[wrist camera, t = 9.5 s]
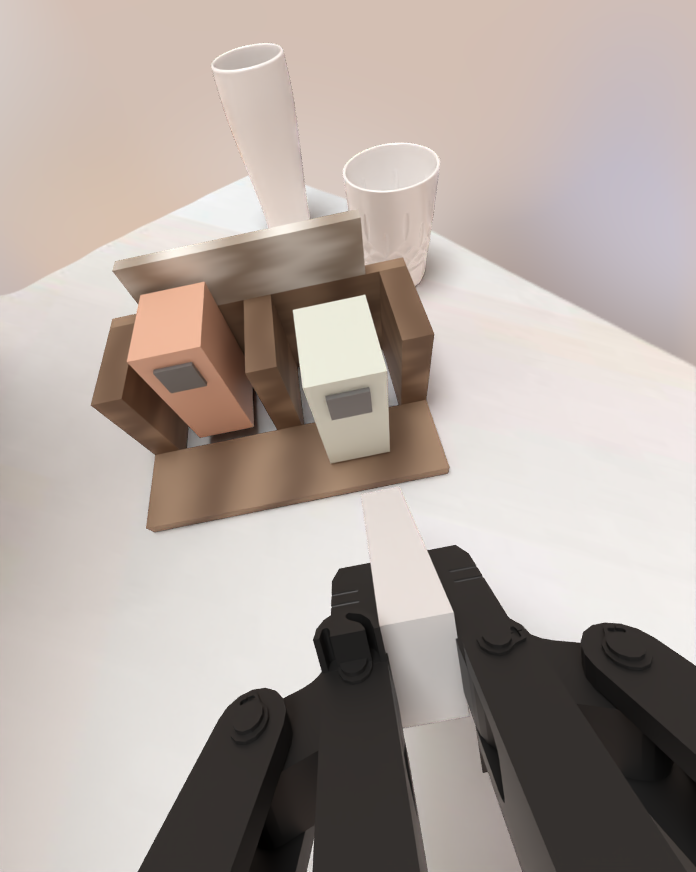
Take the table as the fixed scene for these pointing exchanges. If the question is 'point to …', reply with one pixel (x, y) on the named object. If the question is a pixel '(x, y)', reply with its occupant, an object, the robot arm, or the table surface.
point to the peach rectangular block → (192, 359)
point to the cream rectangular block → (344, 377)
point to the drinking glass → (264, 127)
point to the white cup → (394, 202)
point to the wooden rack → (273, 371)
